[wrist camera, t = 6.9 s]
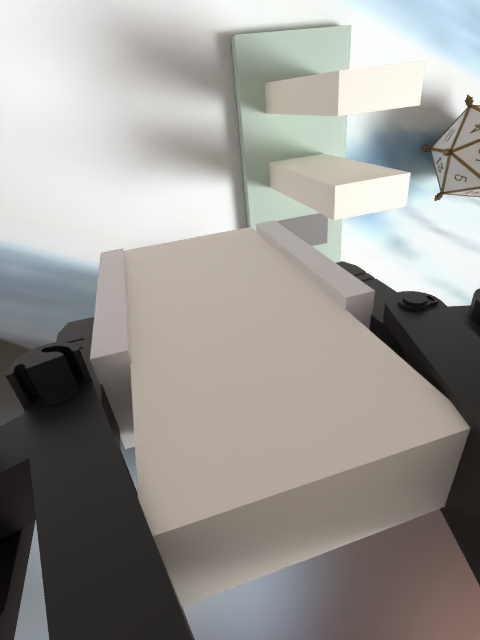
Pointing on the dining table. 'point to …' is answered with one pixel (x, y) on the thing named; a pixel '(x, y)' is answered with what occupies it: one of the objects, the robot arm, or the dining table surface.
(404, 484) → the domino
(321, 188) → the domino
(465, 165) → the game die
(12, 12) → the dining table surface
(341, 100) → the domino
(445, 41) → the dining table surface
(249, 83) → the board
